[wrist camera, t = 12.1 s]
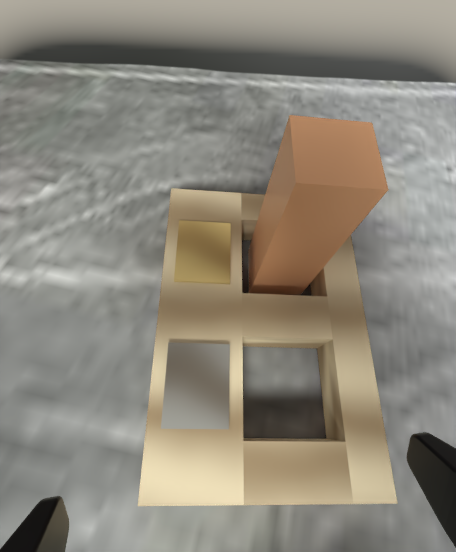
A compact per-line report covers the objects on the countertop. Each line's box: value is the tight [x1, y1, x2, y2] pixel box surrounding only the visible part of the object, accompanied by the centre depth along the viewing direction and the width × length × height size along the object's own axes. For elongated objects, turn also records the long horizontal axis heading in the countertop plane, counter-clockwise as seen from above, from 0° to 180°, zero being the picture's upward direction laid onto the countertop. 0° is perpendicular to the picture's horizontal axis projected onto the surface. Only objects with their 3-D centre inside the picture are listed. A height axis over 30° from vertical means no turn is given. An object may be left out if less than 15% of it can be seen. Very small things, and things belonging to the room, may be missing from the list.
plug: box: [248, 115, 388, 295], centre depth 20 cm, size 4×4×13 cm
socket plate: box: [138, 188, 397, 506], centre depth 22 cm, size 20×14×3 cm
